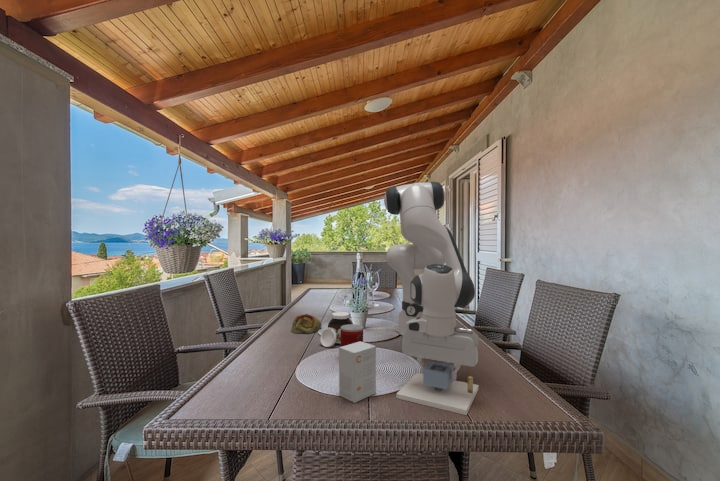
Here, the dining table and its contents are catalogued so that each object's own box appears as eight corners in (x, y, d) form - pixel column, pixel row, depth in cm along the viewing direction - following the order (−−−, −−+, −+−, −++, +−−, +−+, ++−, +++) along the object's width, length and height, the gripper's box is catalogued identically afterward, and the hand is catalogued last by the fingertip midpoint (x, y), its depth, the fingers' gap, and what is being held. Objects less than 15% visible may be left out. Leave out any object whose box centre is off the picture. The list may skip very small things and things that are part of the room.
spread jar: (354, 340, 142) (354, 312, 141) (349, 349, 130) (349, 318, 130) (326, 339, 144) (326, 311, 144) (318, 347, 133) (318, 317, 132)
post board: (416, 376, 106) (416, 354, 106) (478, 389, 97) (478, 365, 97) (396, 398, 92) (396, 372, 92) (466, 415, 83) (466, 387, 83)
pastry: (294, 336, 148) (294, 317, 148) (288, 328, 160) (288, 311, 160) (326, 332, 154) (326, 314, 154) (318, 325, 165) (318, 308, 165)
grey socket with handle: (436, 368, 104) (436, 352, 104) (458, 372, 101) (458, 355, 101) (423, 384, 93) (423, 365, 93) (447, 389, 90) (447, 370, 90)
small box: (360, 386, 99) (360, 340, 99) (376, 393, 94) (376, 345, 94) (338, 395, 93) (338, 346, 93) (354, 403, 89) (354, 352, 89)
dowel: (468, 390, 94) (468, 375, 94) (473, 391, 93) (473, 376, 93) (466, 392, 93) (467, 377, 93) (472, 393, 92) (472, 378, 92)
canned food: (360, 363, 117) (360, 330, 116) (337, 361, 118) (337, 329, 118) (365, 355, 124) (365, 324, 124) (343, 354, 126) (343, 323, 126)
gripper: (481, 327, 92) (480, 379, 92) (407, 318, 102) (407, 365, 102) (476, 333, 86) (476, 388, 87) (399, 323, 96) (399, 372, 96)
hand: (438, 376), depth 94 cm, fingers closed on grey socket with handle, 6 cm apart
